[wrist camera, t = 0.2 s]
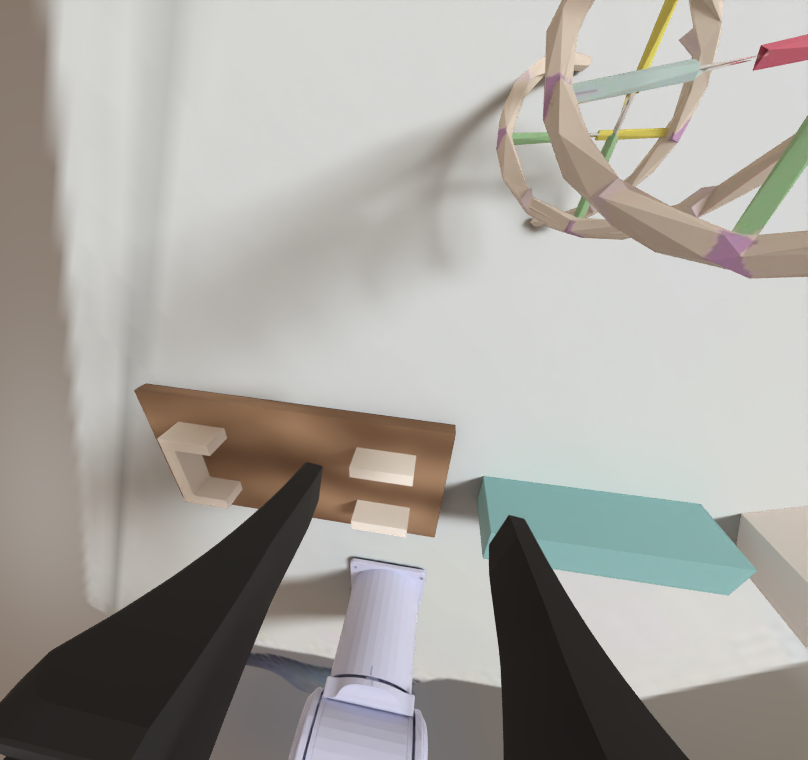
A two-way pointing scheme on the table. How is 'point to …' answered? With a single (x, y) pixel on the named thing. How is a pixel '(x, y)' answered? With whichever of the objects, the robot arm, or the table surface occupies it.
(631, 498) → the slat
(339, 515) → the walnut board
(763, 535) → the beige cube
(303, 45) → the table surface
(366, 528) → the end caps
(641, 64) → the dna model
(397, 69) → the table surface
